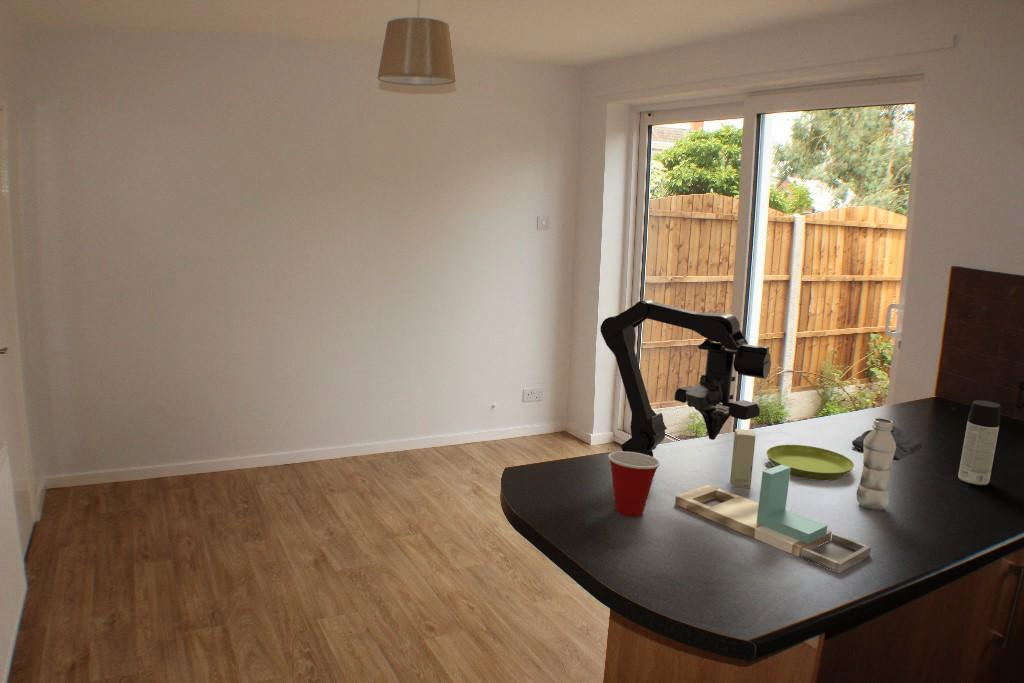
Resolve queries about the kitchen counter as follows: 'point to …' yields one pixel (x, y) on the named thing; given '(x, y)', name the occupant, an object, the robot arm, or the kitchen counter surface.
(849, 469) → the saucer
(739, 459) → the box
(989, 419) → the spray can
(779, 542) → the cream pad
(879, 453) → the plastic bottle
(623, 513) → the plastic cup
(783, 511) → the teal L-block
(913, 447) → the dark grey crumpled cloth
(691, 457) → the kitchen counter surface
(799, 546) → the birch board
